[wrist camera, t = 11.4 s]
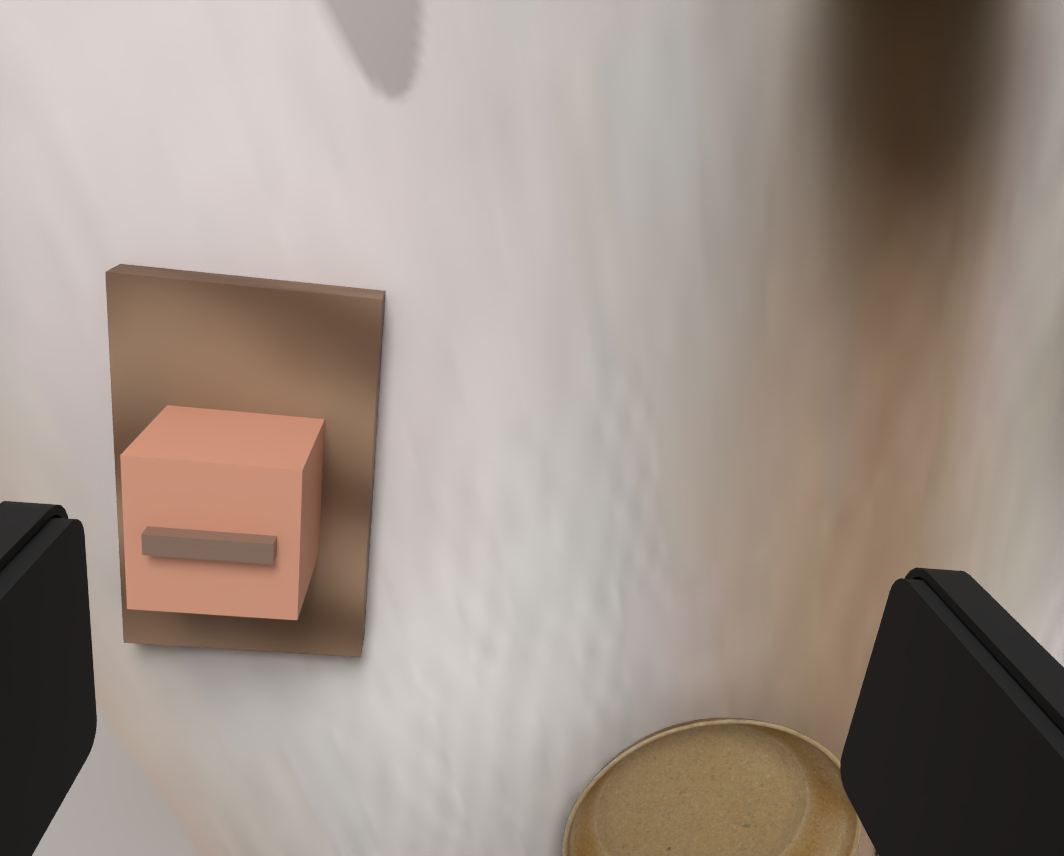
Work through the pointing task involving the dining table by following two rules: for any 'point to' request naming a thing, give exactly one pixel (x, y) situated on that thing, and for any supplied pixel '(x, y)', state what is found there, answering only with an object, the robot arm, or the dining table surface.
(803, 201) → the dining table surface
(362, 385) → the base
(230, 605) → the salmon pink cube
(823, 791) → the plant saucer
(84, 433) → the dining table surface
